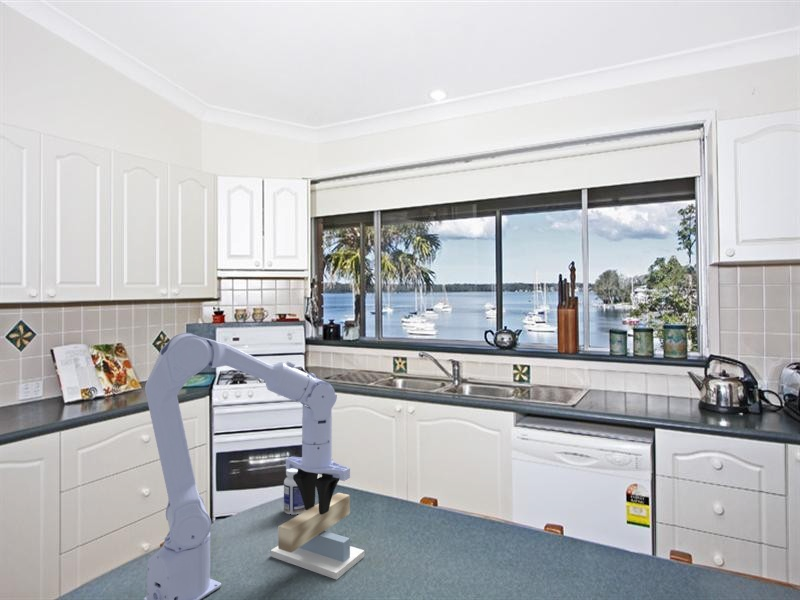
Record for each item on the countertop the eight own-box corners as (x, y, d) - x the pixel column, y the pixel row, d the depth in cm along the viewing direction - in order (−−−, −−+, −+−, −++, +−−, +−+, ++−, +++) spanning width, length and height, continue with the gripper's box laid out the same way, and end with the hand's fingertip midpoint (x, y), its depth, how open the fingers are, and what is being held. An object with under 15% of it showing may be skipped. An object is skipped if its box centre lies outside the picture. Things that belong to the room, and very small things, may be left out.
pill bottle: (311, 506, 116) (311, 465, 116) (304, 516, 111) (304, 473, 111) (288, 505, 117) (288, 464, 117) (280, 515, 111) (280, 472, 111)
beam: (291, 552, 84) (290, 529, 84) (278, 548, 86) (278, 526, 86) (349, 514, 100) (349, 494, 100) (338, 511, 101) (338, 492, 102)
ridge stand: (336, 579, 85) (336, 552, 85) (270, 556, 93) (270, 531, 93) (364, 556, 93) (364, 531, 93) (301, 537, 101) (301, 514, 101)
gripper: (359, 440, 93) (359, 510, 93) (302, 431, 100) (301, 495, 100) (337, 450, 87) (337, 524, 87) (278, 439, 94) (278, 508, 94)
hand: (316, 510), depth 93 cm, fingers closed on beam, 3 cm apart
